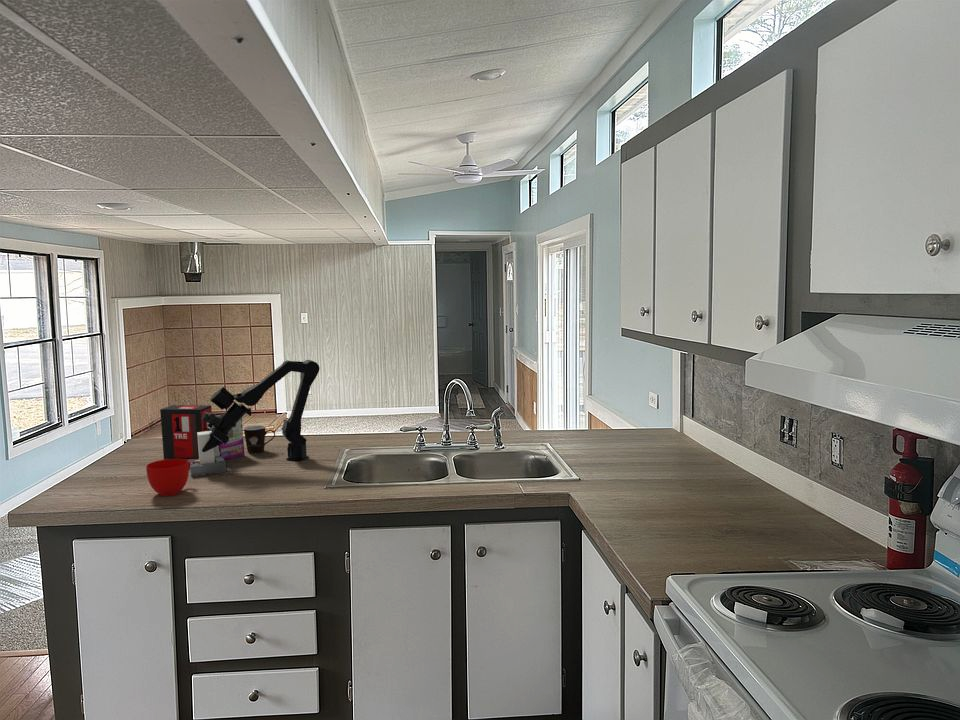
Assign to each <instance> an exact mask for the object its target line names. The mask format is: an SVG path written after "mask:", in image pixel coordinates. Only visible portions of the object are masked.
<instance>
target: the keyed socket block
mask: <svg viewBox="0 0 960 720" xmlns="http://www.w3.org/2000/svg"><path fill="white" fill-rule="evenodd" d="M214 459H215V462H213V463H205V464H198V463H195V460H199V458H198V459H187V460H188V461H189V462H190V470H189V475H190V474H191V475H190V477H191V476H193V477H197V476H196V475H200V476H203V475H202V474H208V475H211V474H210V473H216V474H220V473H219V472H223V473H227V466H226V465H227V464H226V460H224V459H223V457H222V456H214Z"/></svg>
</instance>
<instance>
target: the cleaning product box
mask: <svg viewBox="0 0 960 720" xmlns="http://www.w3.org/2000/svg"><path fill="white" fill-rule="evenodd" d="M159 411H160V422H161V423H160V424H161V425H160V426H161V427H160V428H161V437H162V440H161V441H162V451H163V452H162V453H163V460H165V459H186V460H189V459H198V458H199V451H198V438H197V432H205V431H208V430H207V428H209V429H210V427H208V426H207V425H208V424H209V423H208V422H203V421H202V420H201V419H202V417H203V414H204V412H208V413H213V412H212V405H211V404H209V405H208V404H207V405H206V404H205V405H204V404H203V405H200V404H199V405H196V404H195V405H194V404H193V405H189V404H188V405H185V404H183V405H181V404H178V405H177V404H176V405H173V404H172V405H169V406H167V407H163V408H160V409H159Z"/></svg>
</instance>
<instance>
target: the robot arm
mask: <svg viewBox="0 0 960 720" xmlns="http://www.w3.org/2000/svg"><path fill="white" fill-rule="evenodd" d="M290 372H293V373H300V376H299V377H300V383H299V384H298V385H299V386H298V387H297V388H298V389H297V393H296V397H295V400H294V402H293V405H292V410H291V412H290V416H289V417H288V418H287V419H283V425H282V426H281V428H280V430H282V432H281V433H282V434H281V435H283V437H284V438H285V439H286V440H287V441H288V442H289V443H287V449H286V450H287V457H286V459H285V460H286V461H296V462H300V461H304V460H305V459H308V458H310V455H308V454H307V439H306V438H305V437H304V436H303V435H302V433H301V432H302V417H303V415H304V414H303V413H304V412H305V411H304V410H305V407H306V403H307V400H308V397H309V394H310V391H311V390H310V389H311V387H312V384H313V383H314V381H315V380H316V378H317V376H318V374H319V372H320V365H319V364H318V363H317V362H316V361H314V360H311V359H305V360H304V361H300V360H299V361H297V360H296V361H295V360H293V361H292V360H287V359H286V360H284V361H283V362H282V363H281V364H280V365H279V366H278V367H276V368H275V369H274V370H273V371H272V372H270V373H269V374H268V375H267V376H265V377H264V378H263V379H262V380H260V382H258V383H256V384H254V385H251V386H249V387H248V388H246V389H244V390H242V391H241V392H240V393H235V394H233V393H231V392H230V391H229V390H227V388H226V387H225V386H222V387H221V388H220V389H218V390H217V391H215V392H214V393H213V394H212V396H211V397H210V399H209V401H210V402H211V403H213V404H214V405H215V406H217V407H218V408H219V409H221V410H224V409H225V410H227V411H225V412H224V413H221V414H220V415H217V414H216V413H213V412H212V413H208V412H204V414H203V417H202V419H201V420H202V421H203V422H208V423H209V424H208V425H207V426H208V427H210V429H209V428H207V430H208V431H212V432H211V433H210V438H209V440H208V441H207V443H206V444H205V446H204V448H203V449H202V451H203V452H206V451H208V450H210V449H212V448H214V447H216V446H219V445H221V444H223V443H224V444H226V443H227V442H228V441H229V437H228V434H229V433H228V432H229V431H230V430H231V429H232V428H233V427H235V426H236V424H237V422H238V421H239V420H240V419H241V418H242V419H243V417H244V416H245V415H246V414H247V415H248V416H249V417H251V416H252V407H253V406H255V405H257V404H258V402H259V401H260V400H261V399H262V398H263V397H264V395H265V394H266V392H267V391H268V390H270V388H272V387H273V386H274V385H276V384H278V382H279V381H281V380H282V379H283V378H284V377H285V376H287V375H288V374H289V373H290Z"/></svg>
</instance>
